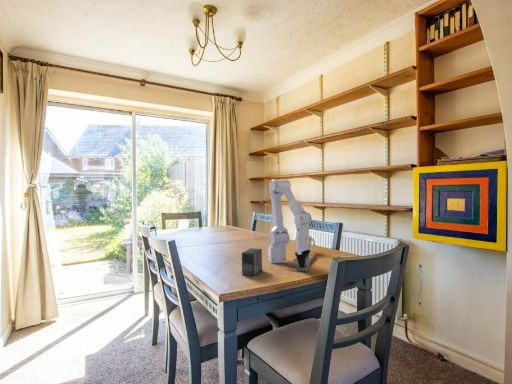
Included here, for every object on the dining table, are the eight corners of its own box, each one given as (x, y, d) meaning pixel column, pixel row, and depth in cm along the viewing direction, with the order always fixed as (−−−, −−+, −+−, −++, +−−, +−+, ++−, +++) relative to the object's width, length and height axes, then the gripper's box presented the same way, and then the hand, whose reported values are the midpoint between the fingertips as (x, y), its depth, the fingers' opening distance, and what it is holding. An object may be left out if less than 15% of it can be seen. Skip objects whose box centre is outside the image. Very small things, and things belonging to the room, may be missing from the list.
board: (306, 267, 142) (306, 263, 142) (290, 266, 145) (290, 262, 145) (315, 256, 164) (315, 253, 164) (301, 255, 167) (301, 252, 167)
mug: (295, 252, 174) (294, 236, 174) (309, 250, 182) (309, 234, 182) (305, 255, 168) (305, 238, 168) (319, 252, 175) (319, 236, 175)
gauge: (307, 271, 135) (307, 258, 135) (281, 268, 140) (281, 256, 139) (308, 269, 138) (308, 256, 138) (284, 266, 143) (283, 254, 143)
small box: (250, 269, 141) (249, 247, 141) (262, 270, 139) (262, 248, 138) (241, 275, 131) (241, 252, 131) (254, 276, 129) (254, 253, 129)
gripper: (307, 241, 129) (307, 271, 129) (314, 236, 142) (314, 263, 143) (292, 240, 132) (292, 269, 132) (300, 235, 145) (300, 261, 145)
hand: (302, 266), depth 138 cm, fingers closed on gauge, 4 cm apart
